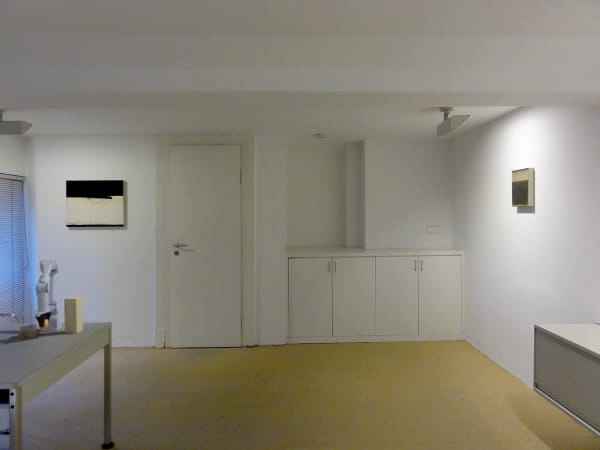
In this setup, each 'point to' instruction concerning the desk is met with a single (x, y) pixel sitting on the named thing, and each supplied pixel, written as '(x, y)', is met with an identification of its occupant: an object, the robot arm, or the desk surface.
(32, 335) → the brown square box
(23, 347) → the desk surface
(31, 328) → the slate block
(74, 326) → the tan wooden block
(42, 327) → the orange capsule
